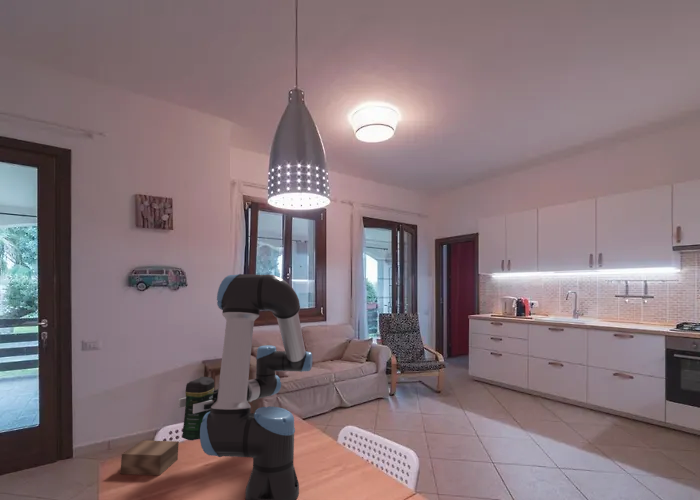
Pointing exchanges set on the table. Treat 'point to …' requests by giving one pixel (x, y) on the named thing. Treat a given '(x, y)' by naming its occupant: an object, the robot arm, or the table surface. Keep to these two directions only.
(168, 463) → the block
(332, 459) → the table surface
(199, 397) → the green supplement bottle
